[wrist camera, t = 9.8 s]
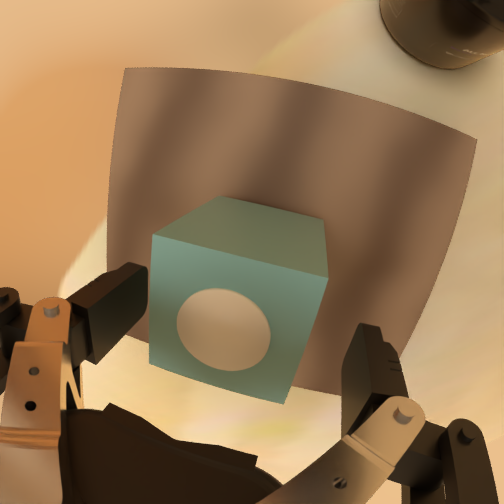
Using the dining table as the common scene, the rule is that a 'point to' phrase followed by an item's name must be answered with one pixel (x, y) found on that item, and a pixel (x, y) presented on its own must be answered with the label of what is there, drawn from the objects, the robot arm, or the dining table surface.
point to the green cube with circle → (236, 295)
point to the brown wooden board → (294, 189)
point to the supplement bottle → (446, 29)
